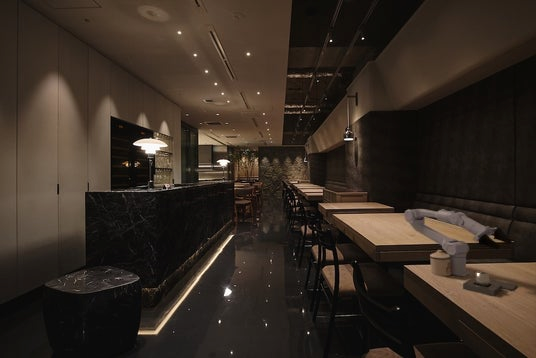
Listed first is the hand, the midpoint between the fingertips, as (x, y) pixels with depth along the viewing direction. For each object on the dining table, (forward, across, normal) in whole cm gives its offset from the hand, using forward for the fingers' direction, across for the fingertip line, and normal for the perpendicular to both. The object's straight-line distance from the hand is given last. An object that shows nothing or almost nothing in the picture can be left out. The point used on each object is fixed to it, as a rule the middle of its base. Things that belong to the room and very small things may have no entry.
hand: (505, 245), depth 130 cm
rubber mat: (+6, -4, +17) cm, 18 cm away
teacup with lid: (-16, -12, +25) cm, 32 cm away
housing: (+5, -16, +14) cm, 22 cm away
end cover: (+5, -16, +14) cm, 22 cm away
